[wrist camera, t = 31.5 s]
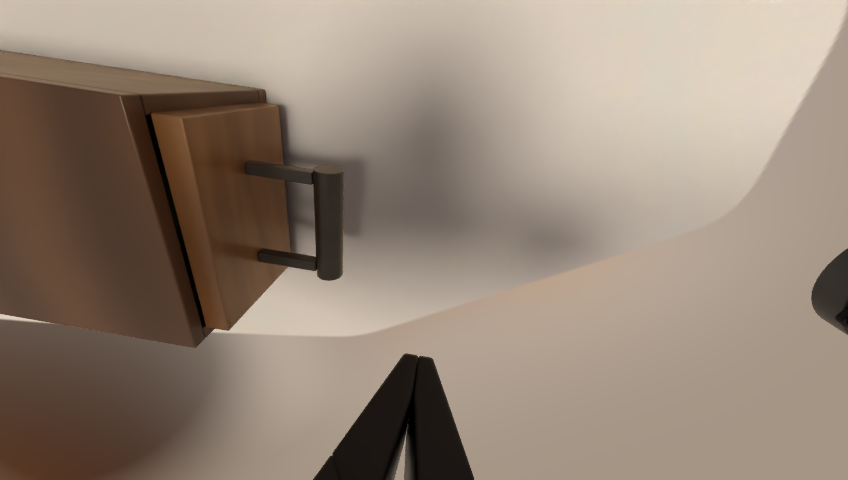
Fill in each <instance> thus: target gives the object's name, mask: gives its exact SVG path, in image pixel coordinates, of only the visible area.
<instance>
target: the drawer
mask: <svg viewBox="0 0 848 480" xmlns="http://www.w3.org/2000/svg"><path fill="white" fill-rule="evenodd" d="M145 118H146V121H147V125H148V129H149V132H150V136H151V140H152V143H153V147H156V148H160V152H161V156H162V160H163V163H164V167H165V171H166V175H167V179H168V182H169V186H170V190H171V194H172V198H173V202H174V205H175V209H176V213H177V217H178V221H179V224H180V228H181V232H182V236H183V240H184V243H185V245H184V246H183V247H181V251H182V254H183V258H184V262H185V265H186V269H187V273H188V277H189V280H190V284H191V288H192V291H193V295H194V299H195V301H196V300H197V299H199V301H200V305H201V308H202V312H203V316H204V320H205V324H206V327H209V328H215V329H221V330H227V331H228V330H230V329H231V328H232V327H233V325H234V324H235V323H236V322H237V321H238V320H239V319H240V318H241V317H242V316H243V315H244V314H245V312H246V311H247V310H248V309H249V308H250V307H251V306H252V305H253V304H254V303H255V302H256V301H257V300H258V298H259V297H260V296H261V295H262V294H263V293H264V292H265V291H266V290H267V289H268V288H269V287H270V286H271V284H272V283H273V282H274V281H275V280H276V279H277V278H278V277H279V276H280V275H281V274H282V273H283V272H284V270H285V269H286V268H287V267H294V268H300V269H306V270H312V271H316V270H317V276H318V277H319V278H320V279H322V280H328V281H330V280H336V279H338V278H340V277H341V276H342V274H343V181H344V171H343V169H341V168H338V167H334V166H318V167H315V168H314V169H313V170H312V169H306V168H299V167H293V166H286V165H283V152H282V140H281V128H280V116H279V106H278V105H273V104H266V103H260V102H256V103H246V104H236V105H226V106H215V107H205V108H195V109H185V110H174V111H164V112H154V113H151V115H145ZM285 181H292V182H298V183H304V184H311V185H312V184H313V185H314V211H315V237H316V257H314V256H308V255H302V254H296V253H291V250H290V238H289V226H288V213H287V201H286V189H285Z"/></svg>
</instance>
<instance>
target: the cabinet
mask: <svg viewBox="0 0 848 480" xmlns="http://www.w3.org/2000/svg"><path fill="white" fill-rule="evenodd" d="M256 102H260V103H266V99H265V91H264V90H263V89H256V88H250V87H243V86H236V85H230V84H223V83H216V82H209V81H203V80H196V79H189V78H183V77H176V76H169V75H162V74H156V73H149V72H142V71H136V70H129V69H122V68H115V67H109V66H102V65H95V64H89V63H82V62H75V61H69V60H62V59H55V58H48V57H42V56H35V55H28V54H22V53H15V52H8V51H1V50H0V314H4V315H10V316H16V317H22V318H27V319H33V320H39V321H44V322H50V323H56V324H61V325H67V326H73V327H79V328H84V329H90V330H96V331H101V332H107V333H113V334H119V335H124V336H130V337H135V338H141V339H147V340H153V341H158V342H164V343H170V344H175V345H181V346H187V347H193V348H196V347H197V346H198V345H199V344H200V343H201V342H202V341H203V340H204V339H205V337H207V336H208V335H209V334H210V333H211V332H212V331H213V330H214V329H215V328H209V327H206V324H205V320H204V316H203V312H202V308H201V305H200V301H199V299H197V300H196V301H195V299H194V295H193V291H192V288H191V284H190V280H189V277H188V273H187V269H186V265H185V262H184V258H183V254H182V251H181V247H180V243H179V240H178V236H177V232H176V229H175V225H174V221H173V217H172V214H171V210H170V206H169V203H168V199H167V195H166V192H165V188H164V184H163V180H162V177H161V173H160V169H159V166H158V162H157V158H156V155H155V151H154V147H153V143H152V140H151V136H150V132H149V129H148V125H147V121H146V118H145V115H151V113H154V112H164V111H174V110H185V109H195V108H205V107H215V106H226V105H236V104H246V103H256Z"/></svg>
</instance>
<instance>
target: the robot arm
mask: <svg viewBox="0 0 848 480" xmlns="http://www.w3.org/2000/svg"><path fill="white" fill-rule="evenodd" d="M835 321H836V322H838V323H839V324H841V325H843V326H844V327H847V328H848V306H847V307H846V308H845V309H843V310H842V311H841V312H840V313H838V314H837V315H836V316H835ZM408 419H409V420H408ZM407 425H408V426H407ZM406 431H407V434H406ZM405 436H406V447H405V448H406V449H405V472H404V480H474V477H473V474H472V471H471V468H470V465H469V463H468V459H467V456H466V453H465V451H464V448H463V445H462V442H461V439H460V436H459V433H458V430H457V427H456V424H455V422H454V419H453V416H452V413H451V410H450V407H449V404H448V401H447V398H446V395H445V393H444V390H443V387H442V384H441V381H440V378H439V375H438V372H437V369H436V366H435V364H434V361H433V359H432V358H430V357H424V356H419V357H418V356H417V355H413V354H404V355H403V356H402V358H401V359H400V360H399V362H398V363H397V364H396V366H395V367H394V369H393V370H392V371H391V373H390V374H389V375H388V377H387V378H386V380H385V381H384V383H383V384H382V385H381V387H380V388H379V389H378V391H377V392H376V393H375V395H374V396H373V398H372V399H371V401H370V402H369V403H368V405H367V406H366V407H365V409H364V410H363V412H362V413H361V414H360V416H359V417H358V419H357V420H356V421H355V423H354V424H353V425H352V427H351V428H350V430H349V431H348V433H347V434H346V435H345V437H344V438H343V440H342V441H341V442H340V443H339V445H338V446H337V448H336V449H335V450H334V452H333V456H330V457H329V458H328V460H327V461H326V463H325V464H324V465H323V467H322V468H321V470H320V471H319V472H318V474H317V475H316V476H315V478H314V479H313V480H394V478H395V474H396V471H397V467H398V463H399V460H400V456H401V452H402V449H403V445H404V440H405Z"/></svg>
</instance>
